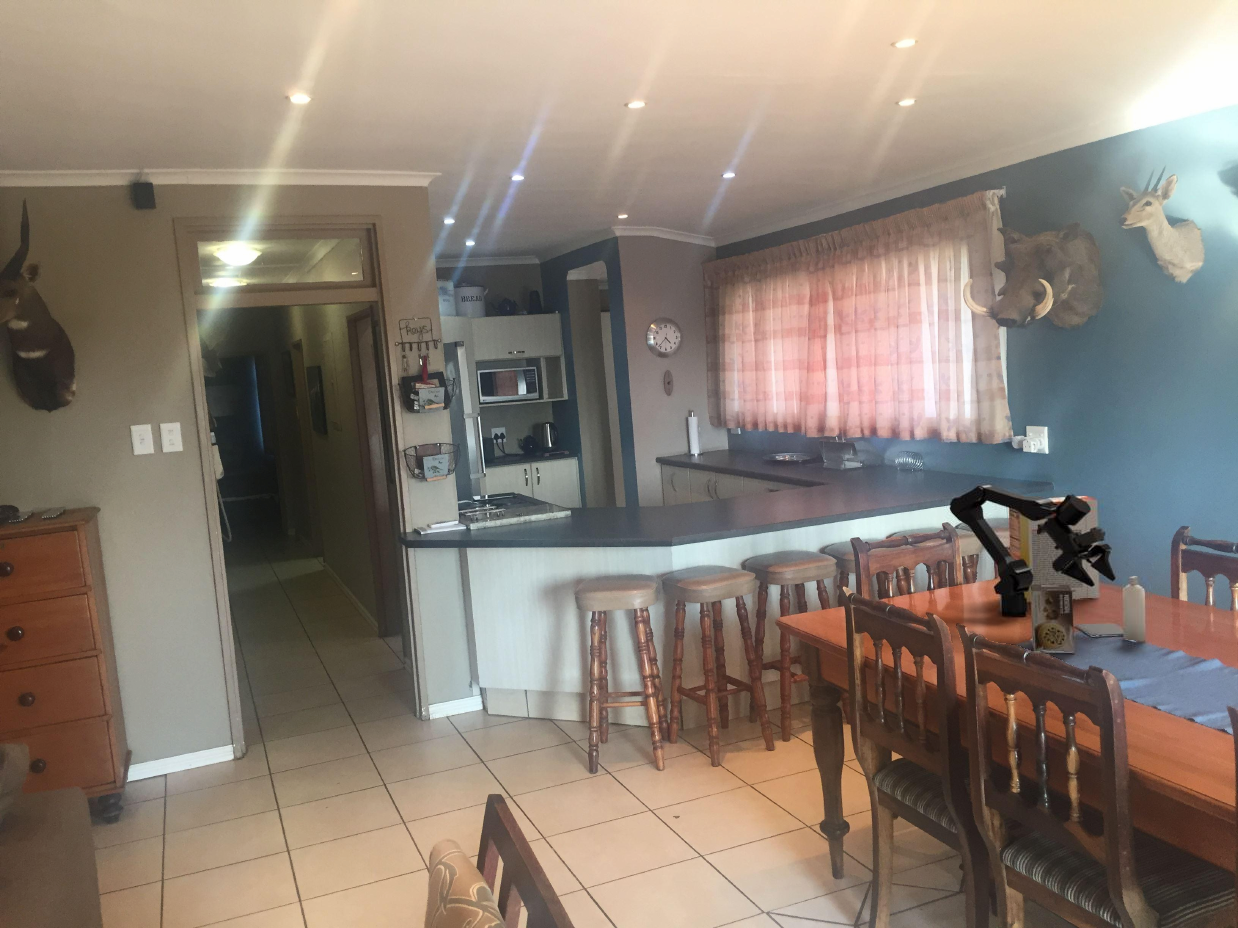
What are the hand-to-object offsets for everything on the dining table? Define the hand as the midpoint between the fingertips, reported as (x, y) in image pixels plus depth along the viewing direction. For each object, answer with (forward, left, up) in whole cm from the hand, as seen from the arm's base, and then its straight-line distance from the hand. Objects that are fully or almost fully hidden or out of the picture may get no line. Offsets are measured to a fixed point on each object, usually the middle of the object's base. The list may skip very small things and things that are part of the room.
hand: (1103, 582), depth 234 cm
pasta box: (-5, +40, -14) cm, 42 cm away
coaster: (0, +2, -13) cm, 14 cm away
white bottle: (+5, -5, -13) cm, 16 cm away
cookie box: (-16, -15, -14) cm, 26 cm away
